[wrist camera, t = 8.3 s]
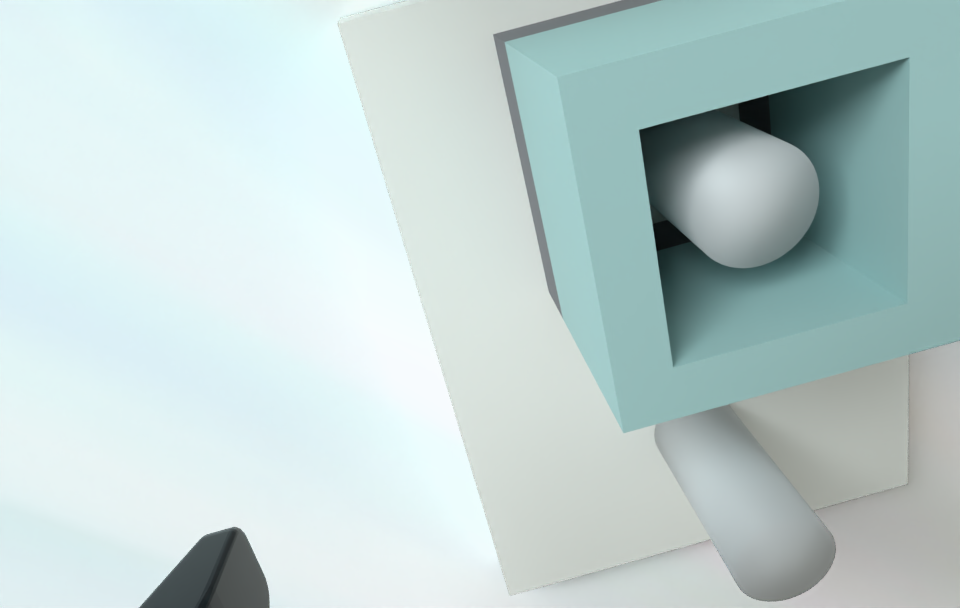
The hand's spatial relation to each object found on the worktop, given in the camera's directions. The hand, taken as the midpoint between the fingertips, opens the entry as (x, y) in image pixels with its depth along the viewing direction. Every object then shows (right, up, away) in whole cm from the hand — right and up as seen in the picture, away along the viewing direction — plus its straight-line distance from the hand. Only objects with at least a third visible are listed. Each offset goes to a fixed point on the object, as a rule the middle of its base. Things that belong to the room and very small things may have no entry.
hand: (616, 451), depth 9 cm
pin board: (+3, +3, +11) cm, 12 cm away
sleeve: (+2, +5, +8) cm, 10 cm away
